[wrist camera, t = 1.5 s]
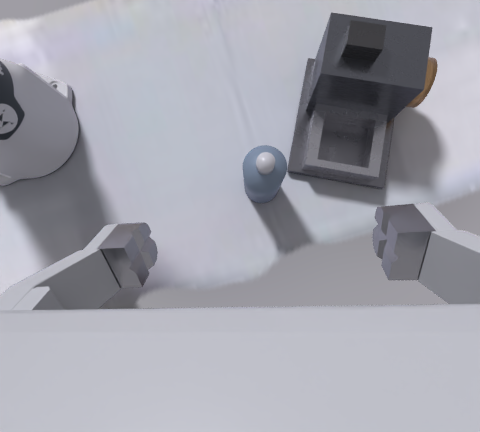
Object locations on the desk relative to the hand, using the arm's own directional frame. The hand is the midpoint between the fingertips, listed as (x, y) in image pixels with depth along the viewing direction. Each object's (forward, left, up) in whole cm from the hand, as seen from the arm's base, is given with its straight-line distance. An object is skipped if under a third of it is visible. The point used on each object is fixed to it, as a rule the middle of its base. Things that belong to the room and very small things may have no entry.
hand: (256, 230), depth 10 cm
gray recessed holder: (+3, +23, -31) cm, 38 cm away
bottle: (-3, +8, -31) cm, 32 cm away
